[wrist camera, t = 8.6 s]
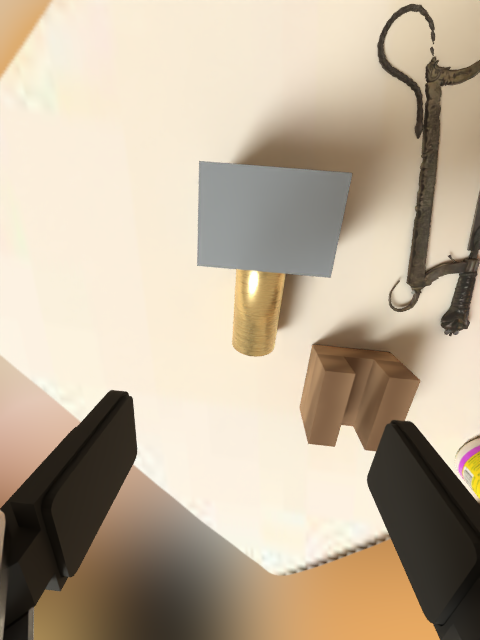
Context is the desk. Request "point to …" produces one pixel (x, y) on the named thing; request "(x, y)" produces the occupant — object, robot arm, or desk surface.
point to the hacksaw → (416, 271)
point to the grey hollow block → (270, 218)
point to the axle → (256, 311)
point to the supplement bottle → (470, 464)
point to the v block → (354, 394)
